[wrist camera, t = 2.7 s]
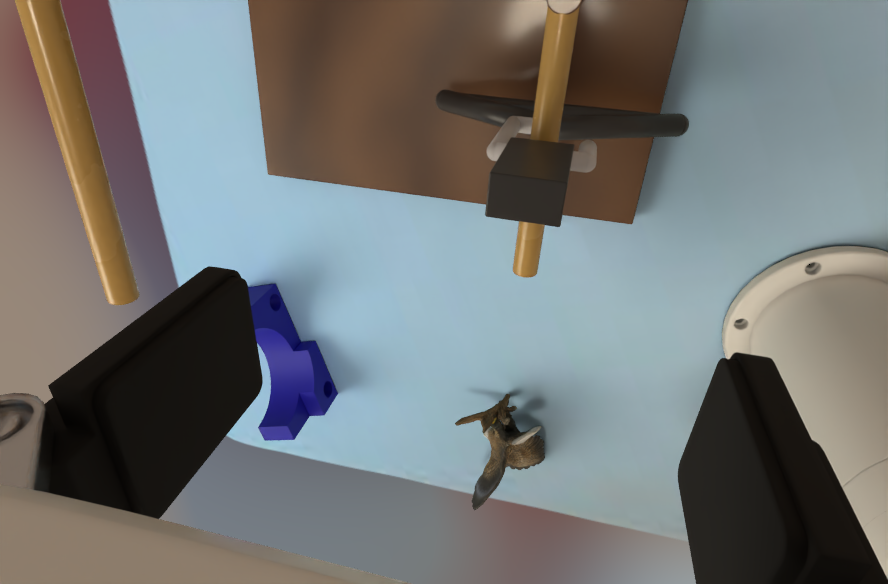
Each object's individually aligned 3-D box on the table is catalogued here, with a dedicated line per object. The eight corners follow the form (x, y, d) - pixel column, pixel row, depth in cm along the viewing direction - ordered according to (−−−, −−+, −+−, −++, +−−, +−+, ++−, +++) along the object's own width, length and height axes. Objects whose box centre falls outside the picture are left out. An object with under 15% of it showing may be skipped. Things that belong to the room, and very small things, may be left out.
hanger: (690, 108, 29) (760, 207, 16) (683, 138, 30) (743, 255, 17) (439, 83, 32) (327, 151, 19) (437, 111, 33) (330, 194, 20)
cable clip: (337, 393, 51) (309, 439, 46) (296, 396, 52) (264, 440, 47) (290, 281, 46) (252, 318, 40) (246, 287, 47) (204, 324, 42)
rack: (690, -24, 29) (835, -34, 12) (631, 218, 36) (666, 435, 19) (252, -49, 34) (-113, -84, 16) (275, 170, 41) (39, 309, 23)
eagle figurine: (440, 401, 47) (457, 489, 49) (468, 440, 40) (486, 540, 42) (520, 376, 48) (533, 463, 51) (559, 410, 42) (572, 507, 44)
